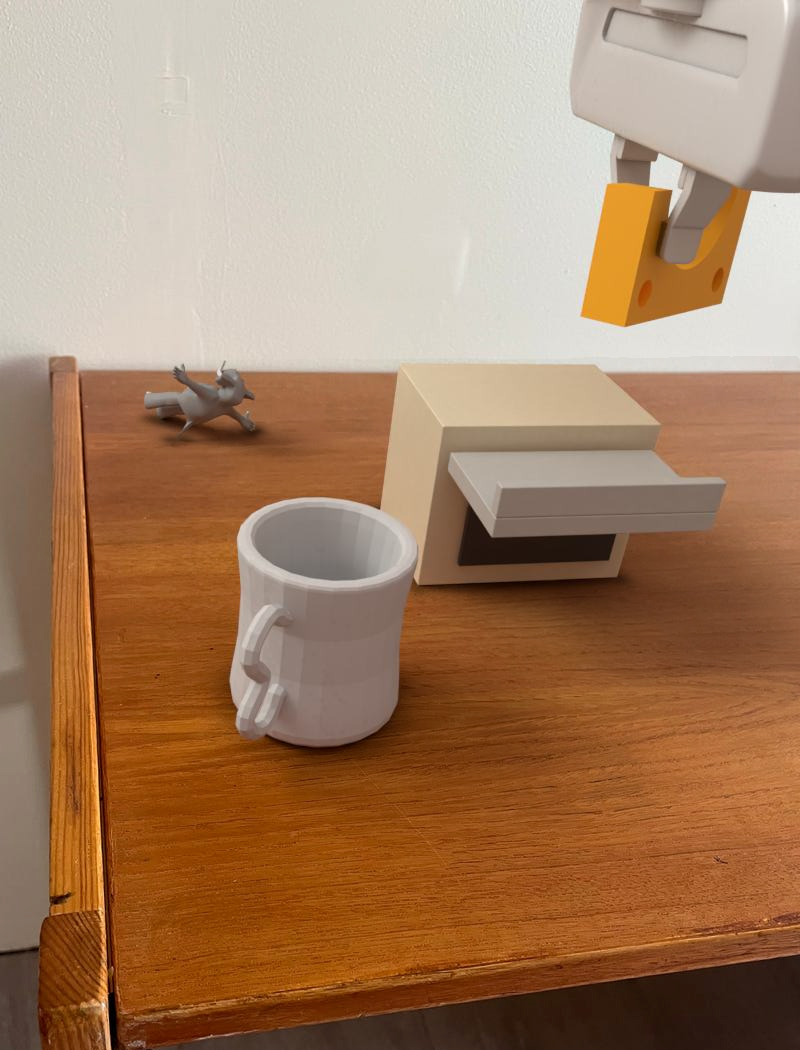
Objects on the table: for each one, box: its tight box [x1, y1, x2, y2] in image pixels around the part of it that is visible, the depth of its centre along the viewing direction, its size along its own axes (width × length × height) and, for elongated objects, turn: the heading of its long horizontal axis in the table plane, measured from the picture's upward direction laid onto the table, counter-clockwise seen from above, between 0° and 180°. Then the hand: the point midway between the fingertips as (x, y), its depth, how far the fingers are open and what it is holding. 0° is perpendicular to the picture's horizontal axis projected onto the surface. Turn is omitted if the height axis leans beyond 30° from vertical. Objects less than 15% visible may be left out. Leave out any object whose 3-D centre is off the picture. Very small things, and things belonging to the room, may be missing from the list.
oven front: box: [379, 362, 728, 586], centre depth 65 cm, size 14×18×11 cm
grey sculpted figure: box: [143, 360, 256, 440], centre depth 81 cm, size 10×6×9 cm
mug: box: [229, 496, 419, 748], centre depth 52 cm, size 12×9×10 cm
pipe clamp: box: [579, 183, 752, 328], centre depth 56 cm, size 12×4×6 cm, turn 137°
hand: (646, 245), depth 55 cm, fingers closed on pipe clamp, 4 cm apart
